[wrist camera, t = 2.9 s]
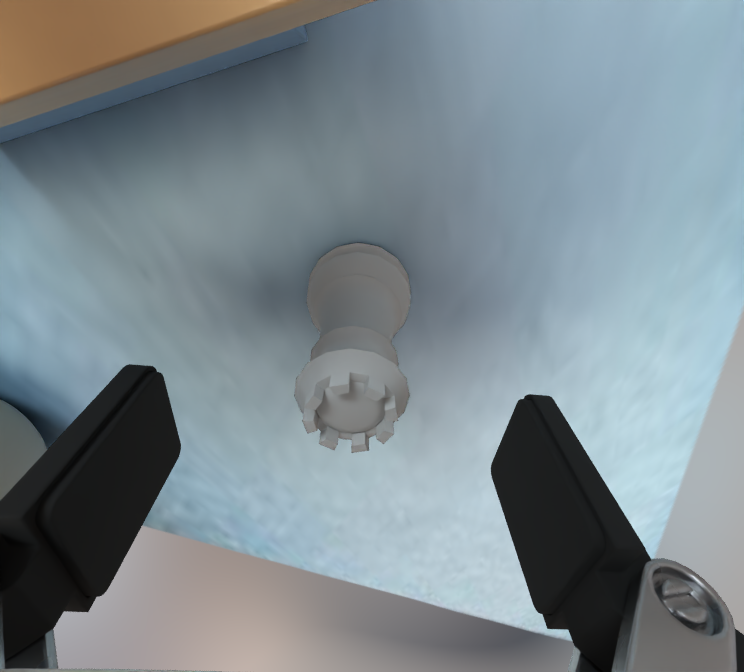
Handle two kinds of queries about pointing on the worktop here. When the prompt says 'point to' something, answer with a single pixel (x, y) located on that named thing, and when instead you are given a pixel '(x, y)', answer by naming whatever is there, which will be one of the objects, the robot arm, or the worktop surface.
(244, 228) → the worktop surface
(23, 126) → the blue box
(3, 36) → the board
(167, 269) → the worktop surface
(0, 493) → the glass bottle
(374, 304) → the rook chess piece
